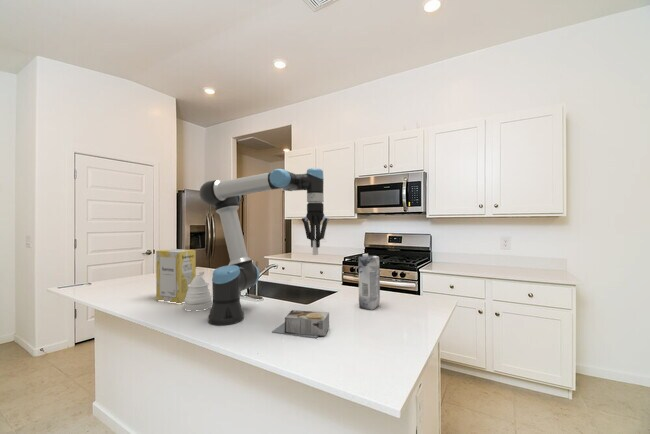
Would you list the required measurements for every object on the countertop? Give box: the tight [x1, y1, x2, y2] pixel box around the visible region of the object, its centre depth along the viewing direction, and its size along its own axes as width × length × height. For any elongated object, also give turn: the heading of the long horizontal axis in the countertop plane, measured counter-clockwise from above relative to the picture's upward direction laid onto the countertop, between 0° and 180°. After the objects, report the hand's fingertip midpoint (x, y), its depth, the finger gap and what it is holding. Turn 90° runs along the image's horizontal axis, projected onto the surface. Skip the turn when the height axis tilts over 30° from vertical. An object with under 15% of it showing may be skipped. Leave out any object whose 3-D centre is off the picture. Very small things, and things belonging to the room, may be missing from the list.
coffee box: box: [284, 309, 330, 337], centre depth 119 cm, size 9×6×16 cm
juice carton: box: [357, 253, 381, 311], centre depth 151 cm, size 9×10×27 cm
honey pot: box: [184, 271, 213, 312], centre depth 152 cm, size 13×13×18 cm
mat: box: [271, 321, 320, 340], centre depth 121 cm, size 19×14×1 cm
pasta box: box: [155, 248, 197, 303], centre depth 167 cm, size 18×10×28 cm, turn 66°
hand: (315, 254), depth 135 cm, fingers closed
